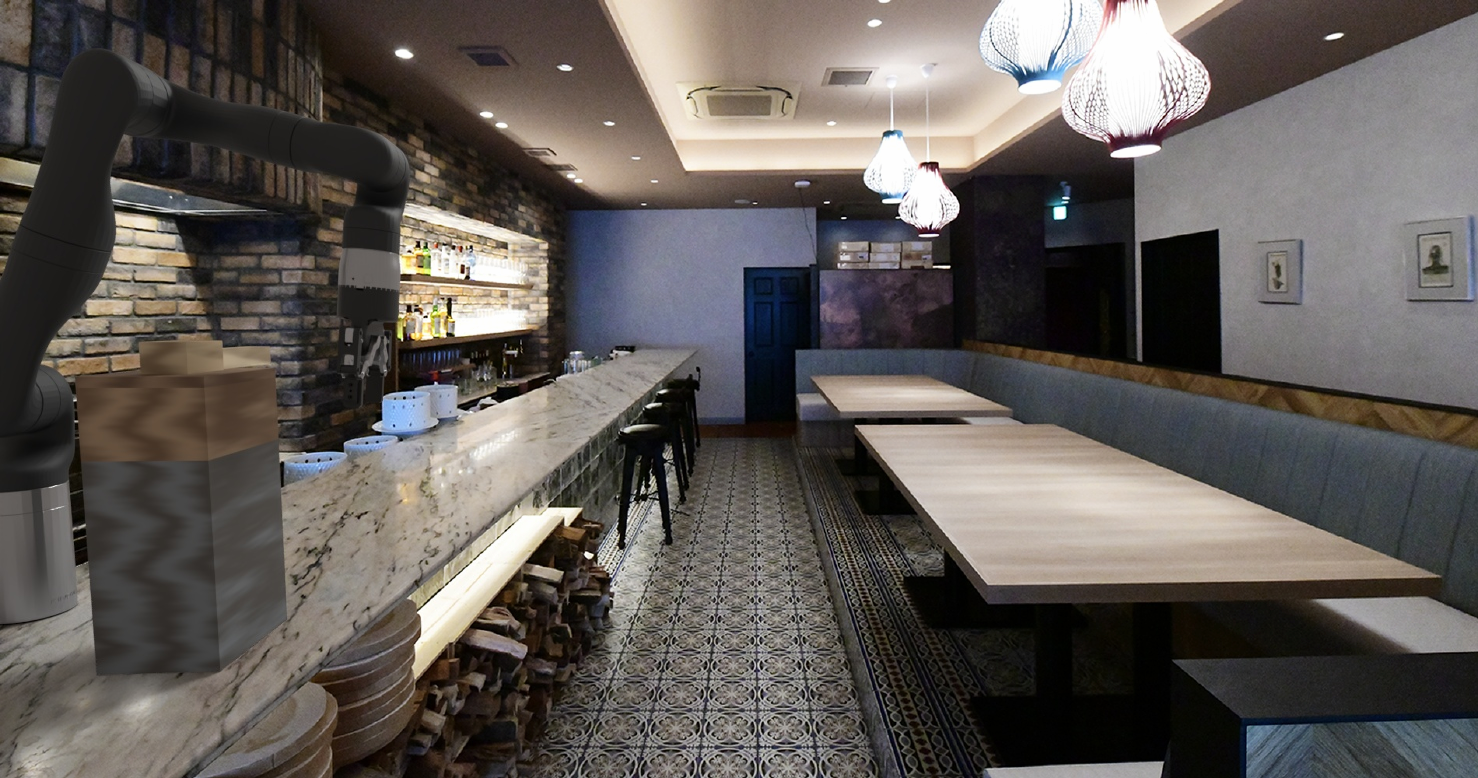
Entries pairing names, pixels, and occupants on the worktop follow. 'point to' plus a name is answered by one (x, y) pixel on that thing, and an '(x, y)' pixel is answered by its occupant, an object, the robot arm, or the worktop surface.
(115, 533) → the grey tall block
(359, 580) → the worktop surface
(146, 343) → the wooden key
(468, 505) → the worktop surface
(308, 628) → the worktop surface
